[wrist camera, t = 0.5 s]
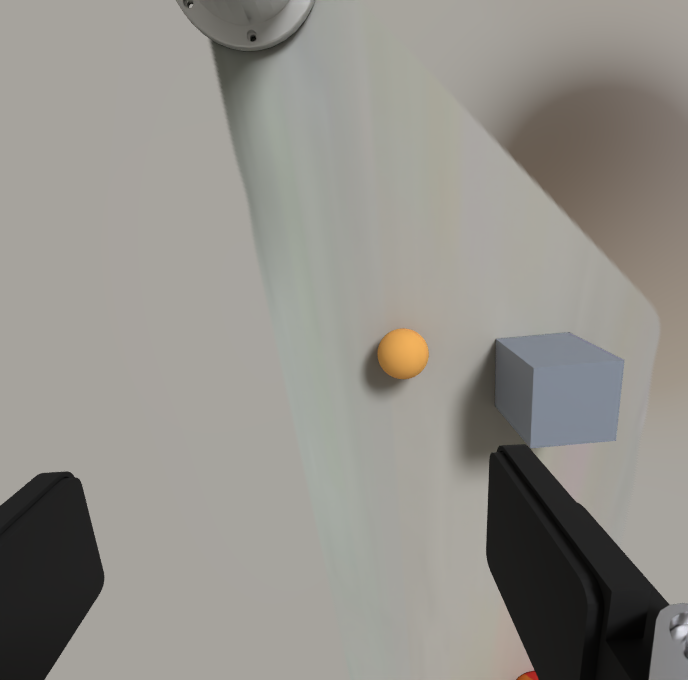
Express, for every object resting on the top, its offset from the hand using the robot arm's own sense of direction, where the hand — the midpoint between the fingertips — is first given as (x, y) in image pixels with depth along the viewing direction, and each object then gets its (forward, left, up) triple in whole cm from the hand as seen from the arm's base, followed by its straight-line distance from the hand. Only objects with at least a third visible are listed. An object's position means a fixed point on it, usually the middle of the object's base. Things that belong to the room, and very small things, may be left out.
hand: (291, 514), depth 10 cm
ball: (+7, +7, -32) cm, 33 cm away
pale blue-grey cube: (+11, +21, -34) cm, 42 cm away
